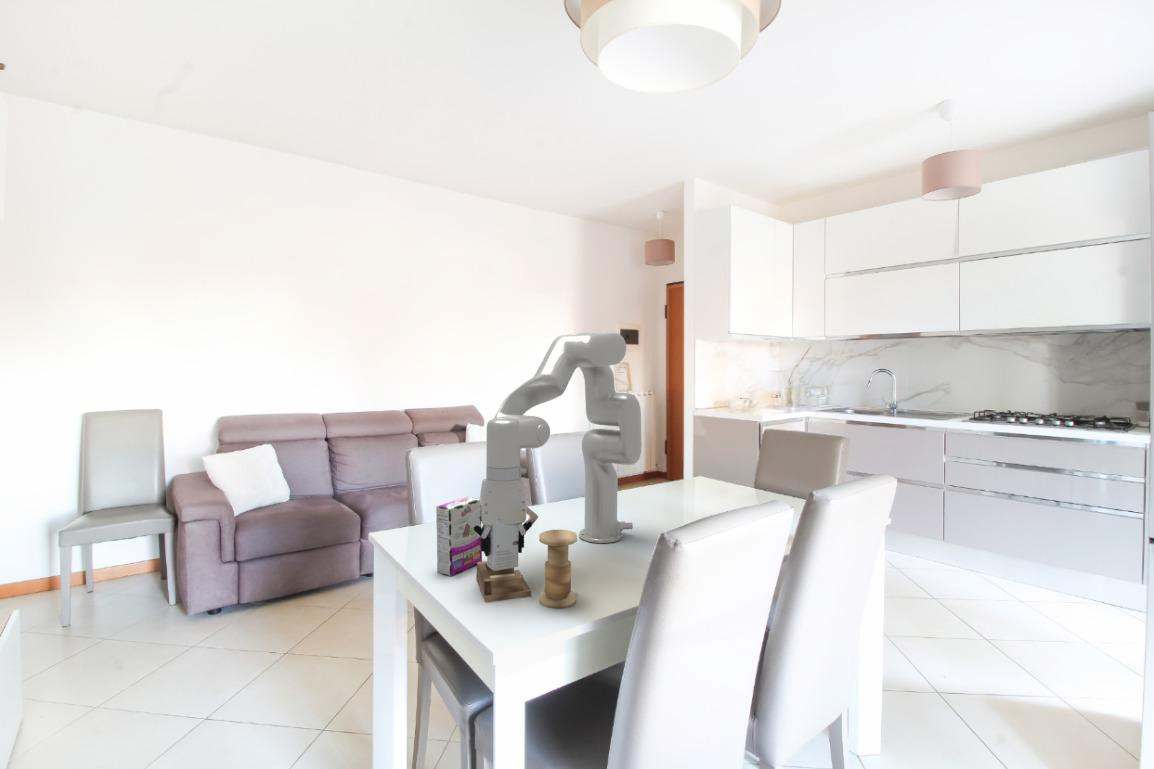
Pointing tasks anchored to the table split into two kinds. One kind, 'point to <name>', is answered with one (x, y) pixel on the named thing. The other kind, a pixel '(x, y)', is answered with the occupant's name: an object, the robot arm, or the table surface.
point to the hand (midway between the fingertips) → (502, 552)
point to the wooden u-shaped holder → (501, 583)
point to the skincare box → (503, 545)
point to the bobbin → (557, 569)
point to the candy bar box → (457, 536)
